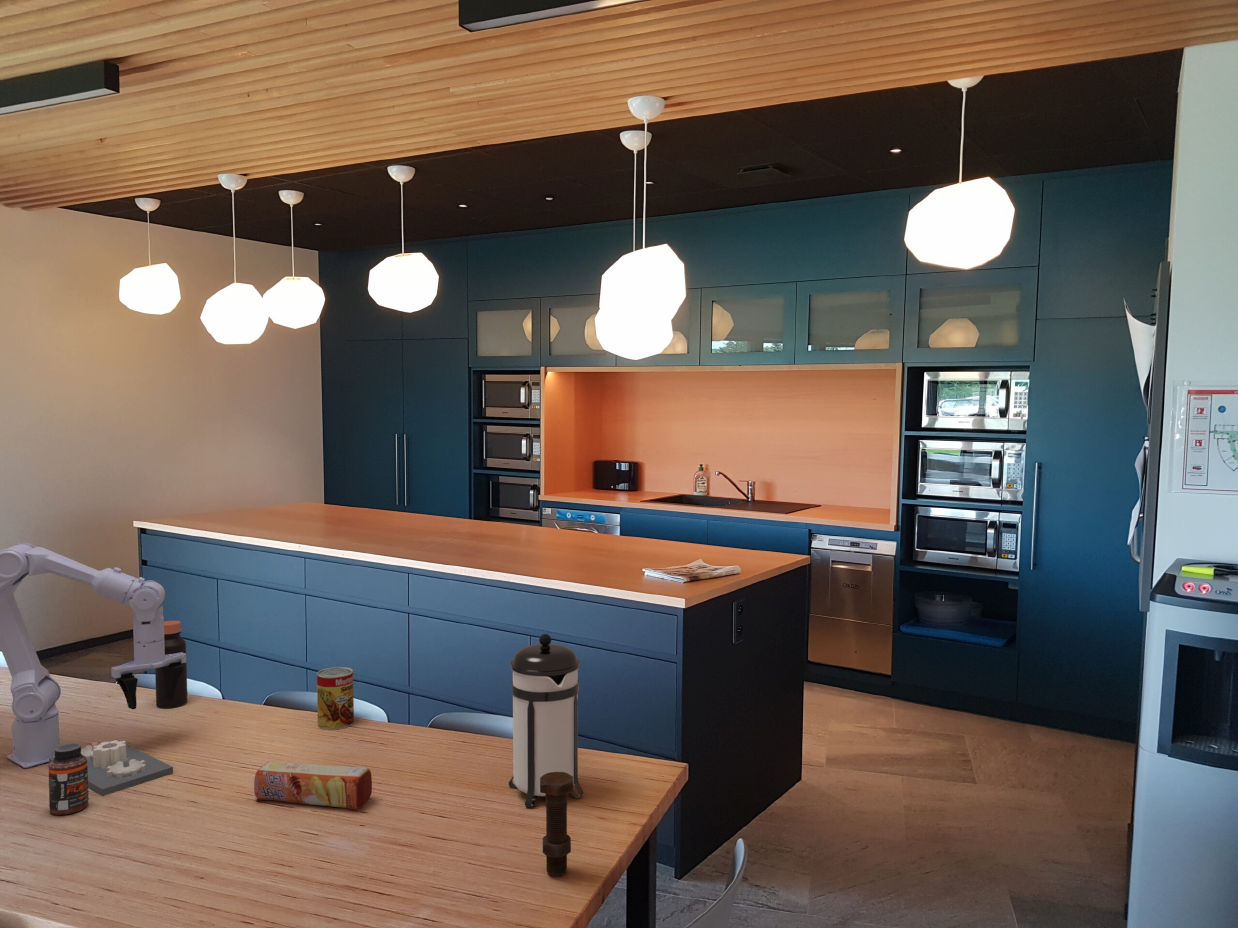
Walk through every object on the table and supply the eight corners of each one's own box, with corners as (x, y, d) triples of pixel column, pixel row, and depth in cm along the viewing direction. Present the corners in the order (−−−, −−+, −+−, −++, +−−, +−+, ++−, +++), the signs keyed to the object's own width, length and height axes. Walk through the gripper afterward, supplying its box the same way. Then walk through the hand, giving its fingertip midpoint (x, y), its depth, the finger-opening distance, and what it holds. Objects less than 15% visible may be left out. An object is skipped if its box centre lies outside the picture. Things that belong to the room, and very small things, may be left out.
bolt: (540, 863, 139) (540, 770, 138) (572, 862, 139) (572, 769, 139) (540, 883, 133) (539, 786, 132) (573, 881, 134) (573, 785, 133)
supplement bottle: (70, 817, 154) (67, 754, 154) (41, 814, 156) (38, 751, 155) (96, 803, 160) (94, 742, 160) (68, 800, 161) (66, 739, 161)
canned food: (347, 729, 197) (346, 677, 197) (312, 729, 197) (311, 676, 197) (358, 717, 205) (357, 666, 204) (324, 717, 205) (323, 666, 204)
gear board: (49, 764, 178) (48, 740, 177) (117, 744, 188) (116, 722, 188) (102, 795, 163) (101, 770, 163) (173, 772, 174) (172, 748, 173)
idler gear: (88, 763, 175) (87, 746, 175) (118, 754, 180) (118, 737, 179) (101, 770, 172) (100, 753, 171) (132, 761, 176) (131, 744, 176)
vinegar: (149, 707, 211) (147, 625, 210) (168, 698, 218) (166, 619, 217) (175, 709, 210) (173, 626, 209) (193, 700, 217) (191, 620, 216)
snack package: (250, 803, 161) (250, 767, 160) (272, 788, 167) (271, 753, 167) (357, 814, 156) (356, 777, 156) (375, 798, 163) (375, 763, 162)
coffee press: (601, 781, 170) (601, 628, 168) (561, 816, 155) (561, 648, 154) (523, 766, 177) (523, 618, 175) (478, 797, 163) (477, 637, 161)
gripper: (121, 650, 178) (123, 716, 178) (192, 635, 189) (194, 697, 190) (105, 644, 182) (108, 709, 183) (176, 630, 193) (178, 691, 194)
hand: (151, 703), depth 187 cm, fingers open, 7 cm apart
